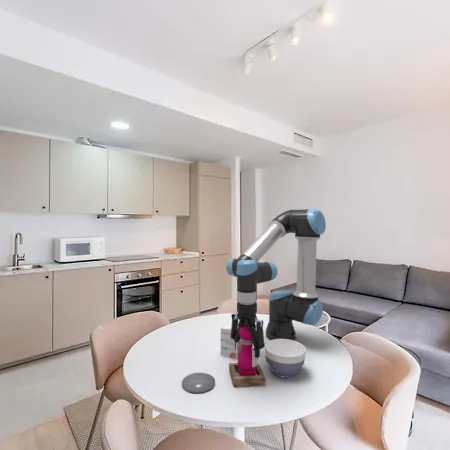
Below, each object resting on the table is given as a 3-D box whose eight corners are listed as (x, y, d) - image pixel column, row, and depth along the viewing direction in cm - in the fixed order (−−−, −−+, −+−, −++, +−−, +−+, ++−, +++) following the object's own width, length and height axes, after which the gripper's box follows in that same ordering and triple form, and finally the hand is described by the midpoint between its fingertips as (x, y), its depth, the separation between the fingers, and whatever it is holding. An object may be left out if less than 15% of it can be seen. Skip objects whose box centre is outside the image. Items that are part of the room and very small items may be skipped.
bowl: (298, 387, 103) (298, 360, 103) (257, 374, 111) (257, 349, 111) (310, 367, 117) (310, 344, 116) (273, 357, 125) (273, 335, 125)
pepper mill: (244, 381, 104) (244, 326, 104) (233, 371, 111) (233, 320, 110) (260, 375, 108) (260, 322, 107) (249, 366, 114) (249, 316, 114)
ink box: (242, 354, 128) (242, 327, 128) (238, 359, 123) (238, 331, 123) (224, 350, 132) (224, 324, 131) (219, 355, 127) (220, 328, 127)
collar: (257, 368, 115) (257, 361, 115) (265, 385, 104) (265, 377, 104) (229, 370, 114) (229, 363, 114) (233, 387, 103) (233, 379, 103)
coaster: (213, 373, 112) (213, 371, 112) (216, 392, 100) (216, 390, 100) (182, 375, 110) (182, 373, 110) (181, 394, 98) (181, 392, 98)
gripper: (275, 304, 104) (274, 367, 105) (233, 294, 118) (233, 350, 119) (262, 309, 99) (262, 375, 100) (220, 298, 113) (220, 356, 113)
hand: (246, 361), depth 109 cm, fingers closed on pepper mill, 7 cm apart
